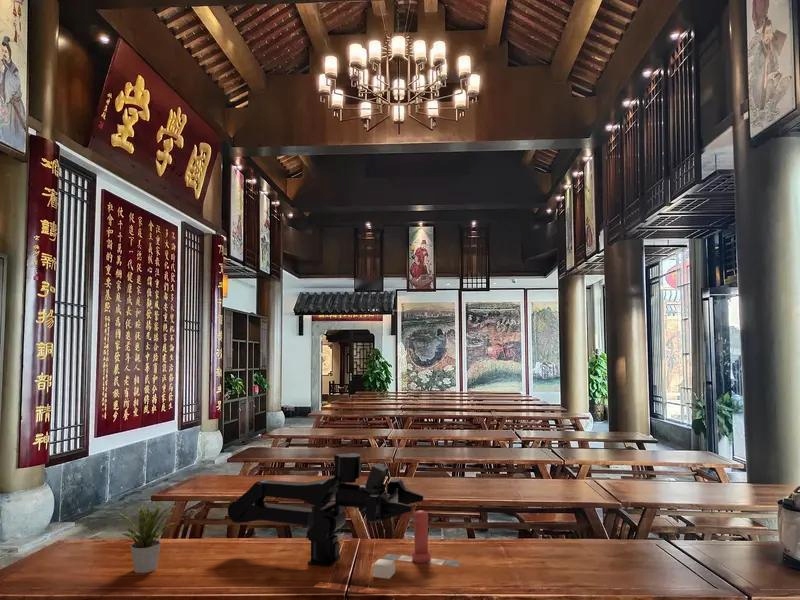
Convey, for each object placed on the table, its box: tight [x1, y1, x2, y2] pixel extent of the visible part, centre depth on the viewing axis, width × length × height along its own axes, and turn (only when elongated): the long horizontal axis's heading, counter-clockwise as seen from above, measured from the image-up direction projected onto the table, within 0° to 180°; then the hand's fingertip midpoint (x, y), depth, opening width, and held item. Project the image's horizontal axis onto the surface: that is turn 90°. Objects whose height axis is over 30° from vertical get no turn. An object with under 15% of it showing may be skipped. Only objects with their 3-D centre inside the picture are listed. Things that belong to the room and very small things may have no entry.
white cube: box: [372, 558, 396, 580], centre depth 147 cm, size 4×4×4 cm
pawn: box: [411, 509, 432, 564], centre depth 157 cm, size 5×5×12 cm
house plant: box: [118, 502, 178, 574], centre depth 156 cm, size 14×14×16 cm
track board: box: [381, 553, 462, 567], centre depth 157 cm, size 20×8×1 cm, turn 71°
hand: (417, 503), depth 153 cm, fingers open, 9 cm apart
